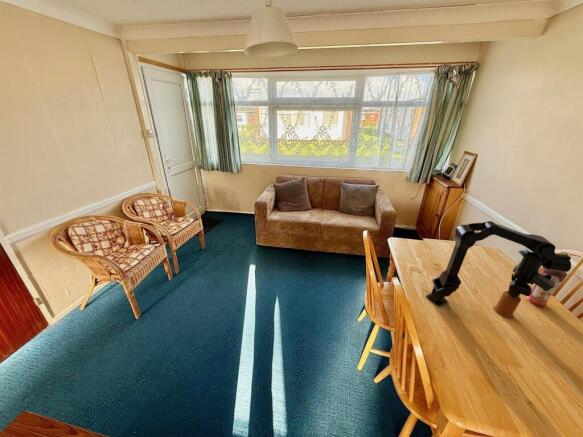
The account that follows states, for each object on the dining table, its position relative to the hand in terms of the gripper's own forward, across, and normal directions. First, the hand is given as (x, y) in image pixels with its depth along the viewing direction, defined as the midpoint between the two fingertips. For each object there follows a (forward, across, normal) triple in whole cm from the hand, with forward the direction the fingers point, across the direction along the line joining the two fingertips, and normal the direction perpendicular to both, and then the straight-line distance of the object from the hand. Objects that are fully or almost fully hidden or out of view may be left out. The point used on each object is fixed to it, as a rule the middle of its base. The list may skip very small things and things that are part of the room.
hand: (513, 294), depth 99 cm
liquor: (+11, +18, -10) cm, 23 cm away
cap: (-2, 0, 0) cm, 2 cm away
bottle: (+10, 0, 0) cm, 10 cm away
